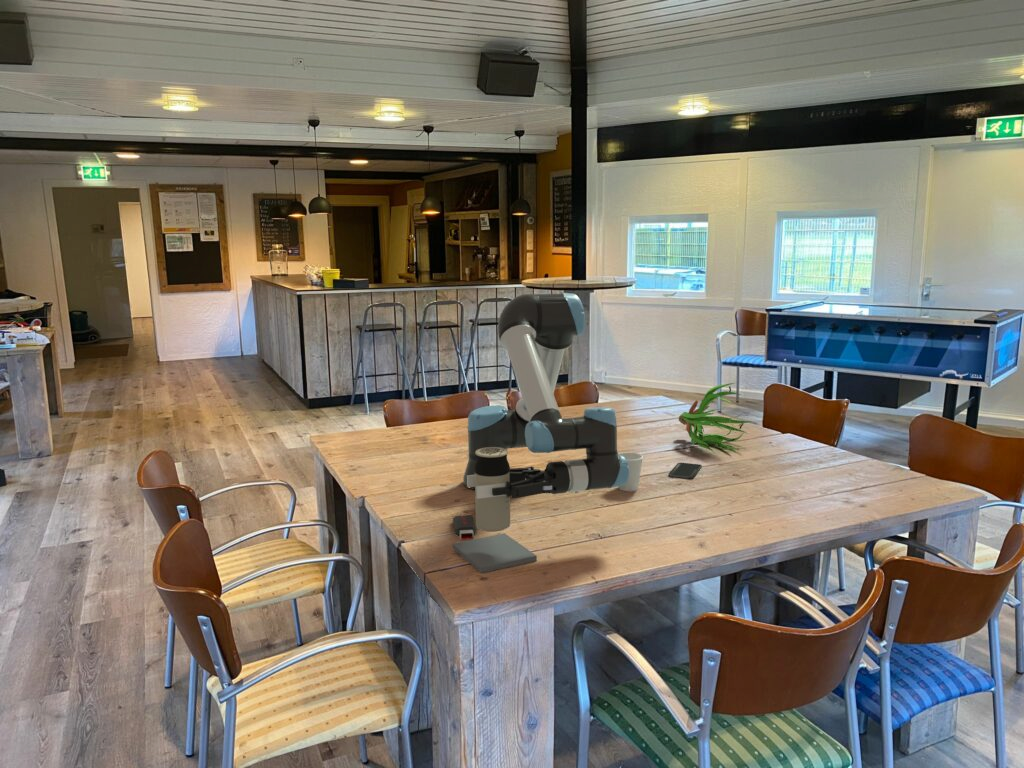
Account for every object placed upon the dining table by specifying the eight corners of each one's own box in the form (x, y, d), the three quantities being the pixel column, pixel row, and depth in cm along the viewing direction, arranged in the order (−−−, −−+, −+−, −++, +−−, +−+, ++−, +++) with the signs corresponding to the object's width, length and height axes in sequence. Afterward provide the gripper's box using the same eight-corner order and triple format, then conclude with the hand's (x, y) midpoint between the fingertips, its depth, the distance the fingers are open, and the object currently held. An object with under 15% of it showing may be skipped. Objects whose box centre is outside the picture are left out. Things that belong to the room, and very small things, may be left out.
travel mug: (470, 530, 173) (468, 454, 170) (483, 518, 180) (482, 445, 177) (503, 534, 170) (501, 456, 167) (515, 522, 178) (514, 448, 174)
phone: (667, 474, 235) (678, 462, 249) (667, 477, 235) (678, 465, 249) (693, 477, 232) (702, 464, 245) (693, 480, 232) (702, 468, 246)
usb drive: (472, 523, 198) (472, 513, 198) (477, 539, 187) (477, 529, 186) (453, 524, 198) (452, 514, 197) (456, 541, 186) (456, 530, 185)
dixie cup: (621, 493, 219) (621, 460, 217) (609, 485, 227) (610, 453, 225) (647, 491, 221) (648, 458, 220) (635, 483, 229) (636, 451, 228)
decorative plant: (694, 448, 290) (762, 461, 266) (650, 445, 274) (719, 459, 251) (703, 380, 289) (772, 388, 266) (660, 374, 274) (729, 381, 250)
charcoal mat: (452, 548, 180) (452, 543, 180) (504, 537, 187) (504, 533, 186) (481, 573, 166) (481, 567, 166) (536, 560, 173) (536, 555, 172)
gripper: (582, 505, 170) (484, 517, 163) (549, 479, 189) (461, 489, 182) (582, 473, 168) (484, 483, 162) (549, 450, 188) (460, 459, 181)
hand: (472, 486), depth 172 cm, fingers closed on travel mug, 8 cm apart
